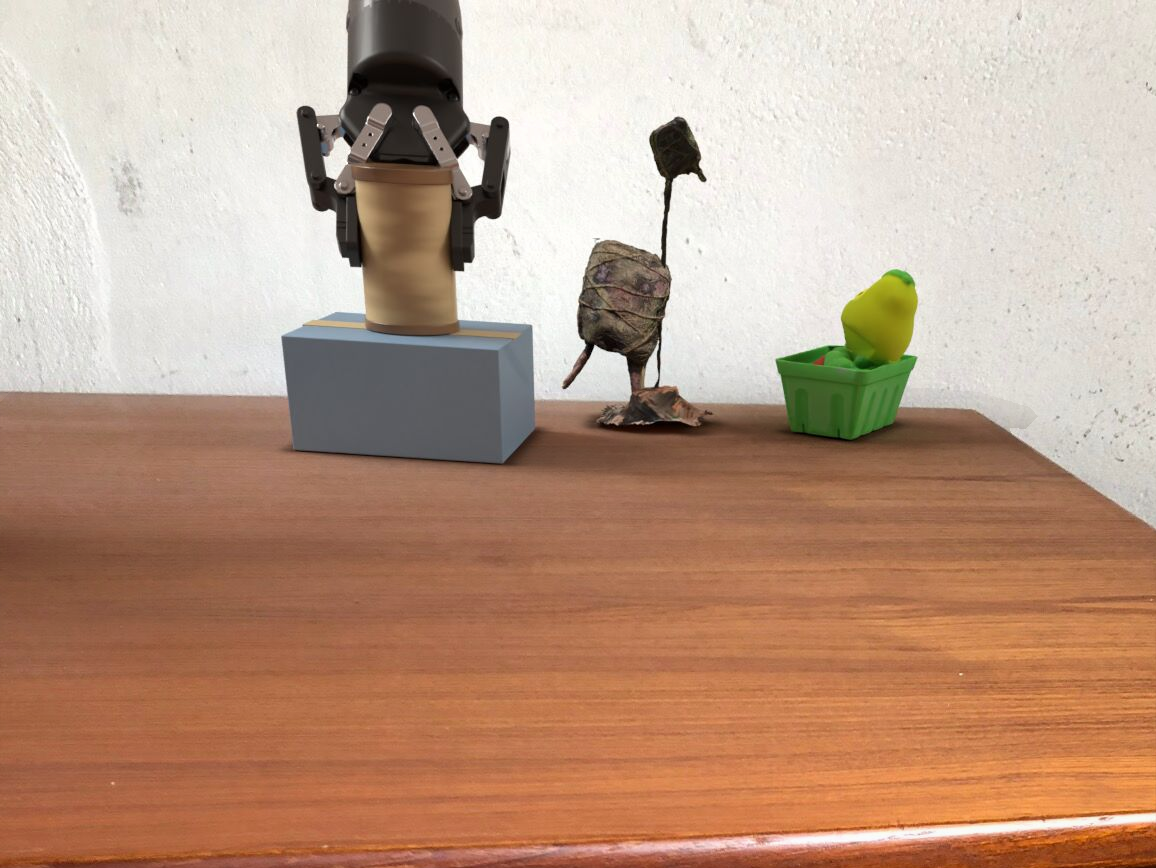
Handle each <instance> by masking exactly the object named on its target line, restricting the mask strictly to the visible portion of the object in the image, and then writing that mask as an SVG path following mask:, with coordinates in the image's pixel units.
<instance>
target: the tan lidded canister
mask: <svg viewBox="0 0 1156 868" xmlns="http://www.w3.org/2000/svg"><path fill="white" fill-rule="evenodd" d="M350 166H351V177H352V178H353V179H355V187H356V199H357V209H358V222H359V234H360V246H361V258H362V267H361V270H362V271H361V272H362V283H363V296H364V309H365V314H366V317H365V327H366V328H367V329H369V330H371V331H375V332H380V333H386V334H395V335H413V336H429V335H445V334H451V333H455V332H458V331H459V330H460V322H459V320H460V319H459V318H458V317H459V314H458V296H457V276H456V271H454V270H453V261H452V249H451V209H452V197H451V184H452V183H454V175H453V169H452V168H449V167H439V166H433V165H414V164H396V163H377V162H371V163H352V164H351V165H350Z"/></svg>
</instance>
